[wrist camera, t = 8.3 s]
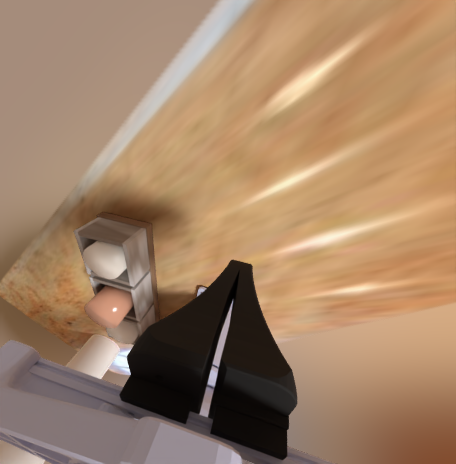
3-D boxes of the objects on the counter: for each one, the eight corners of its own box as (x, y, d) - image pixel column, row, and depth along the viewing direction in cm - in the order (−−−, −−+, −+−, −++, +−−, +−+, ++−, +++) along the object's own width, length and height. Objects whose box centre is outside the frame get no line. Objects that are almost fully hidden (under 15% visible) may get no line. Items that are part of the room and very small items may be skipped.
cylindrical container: (110, 335, 42) (-60, 555, 21) (125, 355, 45) (-10, 562, 24) (85, 332, 44) (-92, 529, 23) (100, 351, 48) (-43, 539, 26)
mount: (160, 324, 36) (145, 349, 32) (125, 313, 36) (107, 336, 33) (151, 223, 25) (128, 243, 21) (102, 212, 25) (71, 228, 22)
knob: (150, 324, 34) (136, 347, 31) (126, 317, 35) (109, 338, 31) (148, 307, 32) (132, 330, 28) (122, 299, 32) (103, 320, 29)
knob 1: (142, 262, 27) (123, 283, 23) (112, 254, 27) (88, 273, 24) (139, 233, 24) (116, 252, 21) (105, 225, 25) (78, 242, 22)
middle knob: (139, 307, 29) (121, 332, 26) (111, 298, 29) (89, 322, 26) (136, 284, 26) (115, 309, 23) (105, 276, 27) (80, 298, 24)
